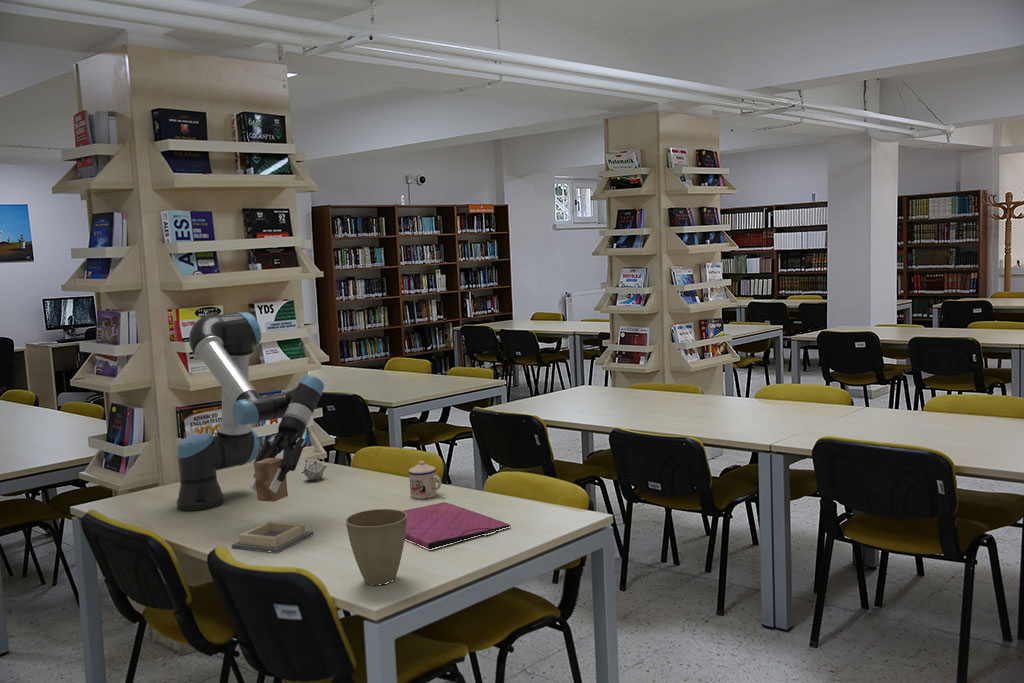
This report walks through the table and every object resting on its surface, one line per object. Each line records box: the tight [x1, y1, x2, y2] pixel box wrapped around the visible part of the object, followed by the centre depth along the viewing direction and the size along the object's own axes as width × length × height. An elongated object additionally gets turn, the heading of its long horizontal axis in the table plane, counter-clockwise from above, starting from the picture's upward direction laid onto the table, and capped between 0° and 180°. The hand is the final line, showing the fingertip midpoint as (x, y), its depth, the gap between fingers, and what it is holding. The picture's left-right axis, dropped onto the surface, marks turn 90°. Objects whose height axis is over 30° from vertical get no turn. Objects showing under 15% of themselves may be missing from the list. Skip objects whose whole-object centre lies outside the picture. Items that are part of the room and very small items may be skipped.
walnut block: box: [253, 457, 289, 503], centre depth 251 cm, size 6×6×11 cm
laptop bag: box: [402, 501, 511, 549], centre depth 256 cm, size 40×4×27 cm
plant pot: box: [345, 508, 407, 586], centre depth 215 cm, size 15×15×16 cm
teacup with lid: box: [408, 460, 442, 500], centre depth 290 cm, size 12×9×12 cm
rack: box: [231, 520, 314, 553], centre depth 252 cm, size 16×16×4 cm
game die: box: [301, 457, 328, 483], centre depth 321 cm, size 9×8×10 cm
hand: (263, 489), depth 248 cm, fingers closed on walnut block, 6 cm apart
